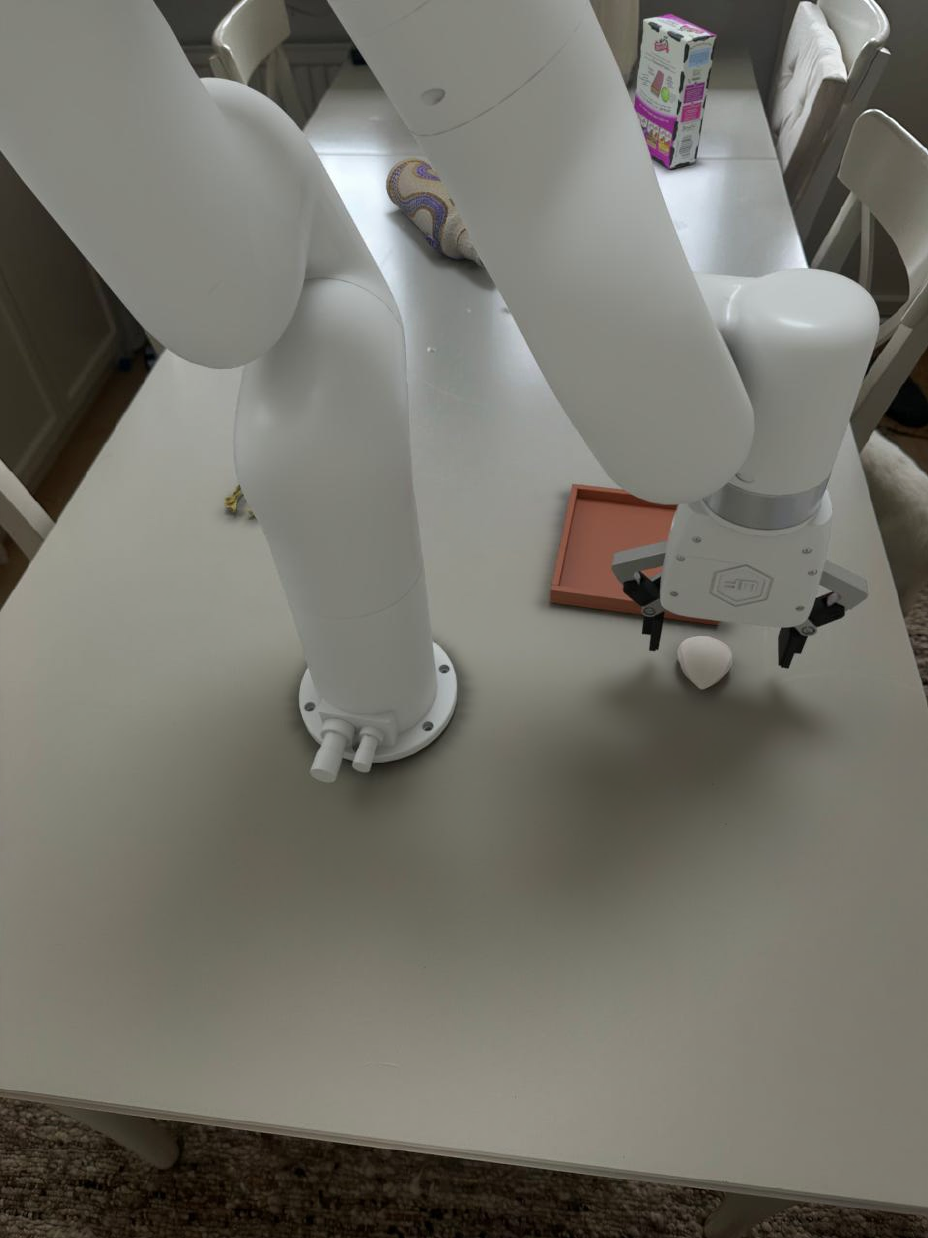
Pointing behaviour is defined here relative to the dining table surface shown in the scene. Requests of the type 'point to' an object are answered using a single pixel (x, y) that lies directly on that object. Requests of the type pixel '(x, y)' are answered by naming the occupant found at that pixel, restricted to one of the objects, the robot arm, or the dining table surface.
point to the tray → (606, 547)
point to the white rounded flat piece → (704, 660)
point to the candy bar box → (673, 87)
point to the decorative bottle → (430, 208)
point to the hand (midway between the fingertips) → (717, 644)
